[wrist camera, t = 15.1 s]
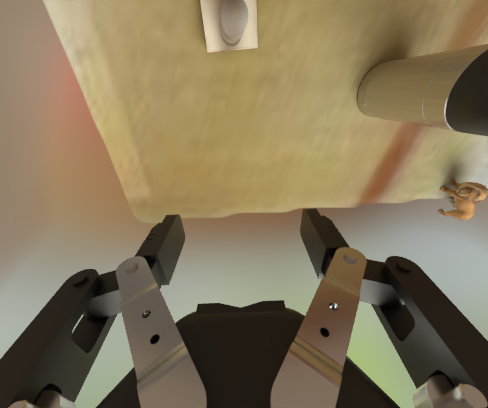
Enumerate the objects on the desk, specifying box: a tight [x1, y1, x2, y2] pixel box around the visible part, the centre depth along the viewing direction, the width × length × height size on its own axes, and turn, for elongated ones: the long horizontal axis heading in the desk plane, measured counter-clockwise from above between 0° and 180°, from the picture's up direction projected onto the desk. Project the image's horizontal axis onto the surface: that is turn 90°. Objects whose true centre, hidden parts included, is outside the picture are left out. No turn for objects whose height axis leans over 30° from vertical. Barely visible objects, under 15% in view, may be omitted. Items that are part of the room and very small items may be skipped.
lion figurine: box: [438, 180, 488, 220], centre depth 49 cm, size 15×5×9 cm, turn 34°
